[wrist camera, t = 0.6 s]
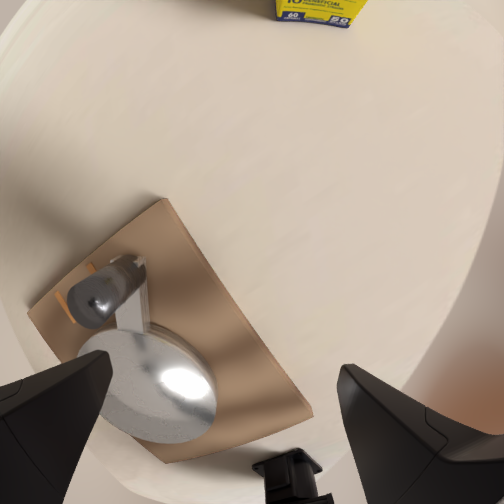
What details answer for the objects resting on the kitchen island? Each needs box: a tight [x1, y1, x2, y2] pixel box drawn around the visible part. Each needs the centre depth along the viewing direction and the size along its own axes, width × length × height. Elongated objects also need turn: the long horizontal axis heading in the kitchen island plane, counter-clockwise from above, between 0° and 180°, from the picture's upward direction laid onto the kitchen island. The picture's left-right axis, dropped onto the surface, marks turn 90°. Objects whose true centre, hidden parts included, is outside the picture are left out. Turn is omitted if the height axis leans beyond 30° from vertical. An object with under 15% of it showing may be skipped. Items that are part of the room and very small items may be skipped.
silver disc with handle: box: [67, 254, 218, 444], centre depth 17 cm, size 17×12×7 cm
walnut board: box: [27, 199, 314, 464], centre depth 21 cm, size 22×18×2 cm
